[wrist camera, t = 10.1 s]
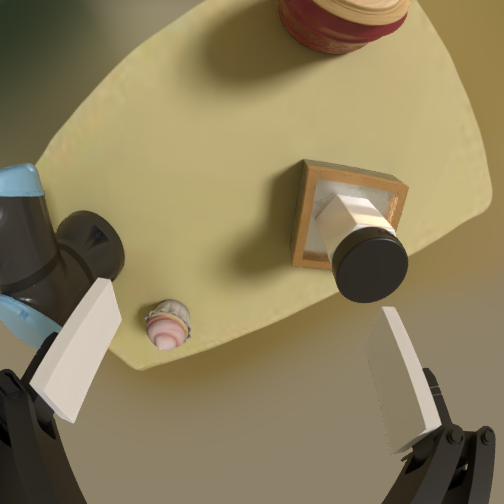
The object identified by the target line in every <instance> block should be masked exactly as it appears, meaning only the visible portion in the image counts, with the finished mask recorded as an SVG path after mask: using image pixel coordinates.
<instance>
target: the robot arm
mask: <svg viewBox="0 0 504 504" xmlns="http://www.w3.org/2000/svg"><path fill="white" fill-rule="evenodd" d="M44 195H45V191H43V188H42V185H41V181H40V177H39V173H38V170H37V168H36V167H35V166H34V165H32V164H30V163H24V164H19V165H14V166H10V167H7V168H3V169H0V319H1V321H2V322H3V323H4V324H5V326H6V327H7V328H8V329H9V330H10V331H11V332H12V333H13V334H14V335H15V336H17V337H18V338H19V339H20V340H22V341H23V342H24V343H26V344H28V345H29V346H31V347H33V348H35V349H37V350H38V351H37V353H36V355H35V356H34V358H33V359H32V361H31V363H30V365H29V366H28V368H27V370H26V371H25V373H24V375H23V377H22V378H21V380H19V378H18V377H17V376H16V374H15V373H14V372H13V371H12V370H10V369H4V370H2V371H0V504H87V502H86V501H85V499H84V496H83V494H82V492H81V490H80V488H79V486H78V483H77V481H76V479H75V477H74V474H73V472H72V469H71V467H70V464H69V462H68V459H67V456H66V454H65V451H64V448H63V445H62V442H61V439H60V436H59V432H58V429H57V426H56V422H55V419H54V417H53V414H54V412H56V413H57V415H59V416H60V417H61V418H63V419H65V420H67V421H69V422H71V423H74V422H75V419H76V417H77V415H78V412H79V409H80V407H81V405H82V403H83V400H84V398H85V396H86V393H87V391H88V389H89V386H90V384H91V382H92V380H93V378H94V375H95V373H96V371H97V369H98V367H99V365H100V362H101V360H102V358H103V356H104V354H105V352H106V350H107V348H108V346H109V344H110V342H111V340H112V338H113V336H114V334H115V332H116V331H117V329H118V327H119V325H120V323H121V321H122V318H121V315H120V312H119V308H118V305H117V301H116V298H115V294H114V290H113V286H112V282H113V281H114V280H115V279H116V278H117V276H118V275H119V273H120V272H121V270H122V268H123V266H124V260H125V256H124V249H123V245H122V243H121V240H120V238H119V236H118V234H117V233H116V231H115V230H114V229H113V227H112V226H111V225H110V224H109V223H108V222H107V221H106V220H105V219H103V218H102V217H101V216H99V215H97V214H95V213H93V212H89V211H76V212H74V213H72V214H71V215H69V216H68V217H67V218H65V219H64V220H63V221H62V222H61V224H60V225H59V227H58V229H57V232H56V233H55V234H54V231H53V228H52V224H51V221H50V217H49V213H48V209H47V205H46V201H45V197H44ZM363 346H364V349H365V352H366V356H367V359H368V363H369V366H370V370H371V374H372V377H373V380H374V385H375V388H376V392H377V396H378V401H379V405H380V409H381V413H382V418H383V422H384V426H385V431H386V436H387V441H388V446H389V451H390V455H392V454H397V453H400V452H405V451H406V450H408V449H409V448H410V447H412V448H413V452H411V453H409V454H408V455H406V456H405V457H403V459H402V460H401V461H404V460H406V459H407V461H406V462H405V465H404V467H403V469H402V471H401V473H400V474H399V476H398V478H397V480H396V482H395V483H394V485H393V487H392V488H391V490H390V491H389V493H388V495H387V496H386V498H385V499H384V501H383V502H382V504H488V503H489V498H490V492H491V485H492V479H493V470H494V459H495V434H494V431H493V430H492V429H491V428H490V427H488V426H483V427H482V428H480V429H479V430H478V431H476V432H471V431H470V432H469V431H463V430H462V428H460V427H459V426H458V425H455V424H453V423H452V422H451V419H450V416H449V413H448V410H447V407H446V404H445V402H444V399H443V396H442V395H441V391H440V388H439V387H438V383H437V381H436V378H435V376H434V375H433V373H432V372H431V371H430V370H429V368H423V369H422V368H421V365H420V363H419V360H418V358H417V355H416V353H415V351H414V348H413V346H412V344H411V341H410V339H409V337H408V335H407V332H406V330H405V328H404V326H403V324H402V321H401V319H400V317H399V315H398V313H397V311H396V309H395V307H382V308H381V310H380V312H379V314H378V316H377V318H376V320H375V322H374V324H373V326H372V328H371V330H370V332H369V334H368V336H367V338H366V340H365V341H364V343H363ZM467 464H468V466H467V470H465V466H466V465H467Z"/></svg>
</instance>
